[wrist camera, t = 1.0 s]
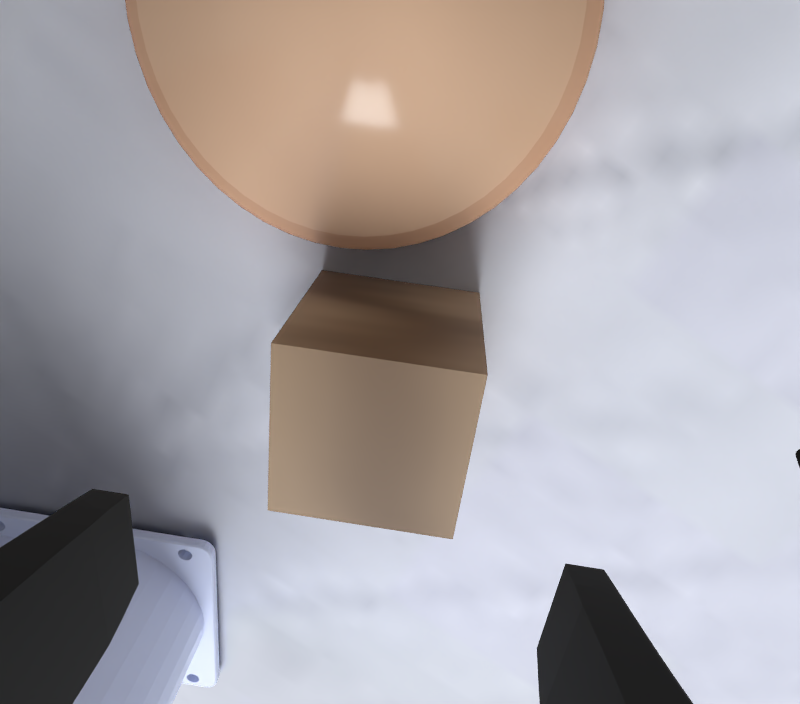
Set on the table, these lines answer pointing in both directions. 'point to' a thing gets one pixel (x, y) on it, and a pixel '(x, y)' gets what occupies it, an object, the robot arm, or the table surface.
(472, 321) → the walnut block
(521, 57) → the pedestal
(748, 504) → the table surface
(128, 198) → the table surface
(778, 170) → the table surface
